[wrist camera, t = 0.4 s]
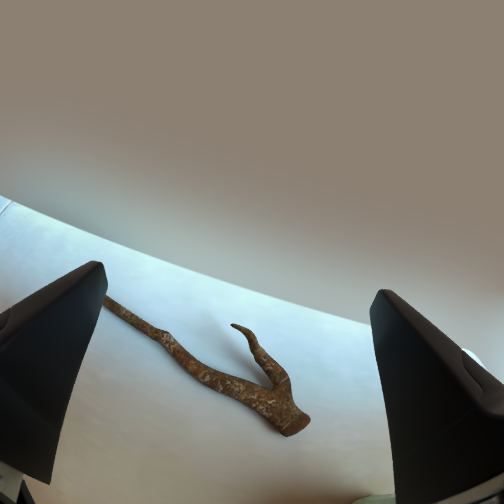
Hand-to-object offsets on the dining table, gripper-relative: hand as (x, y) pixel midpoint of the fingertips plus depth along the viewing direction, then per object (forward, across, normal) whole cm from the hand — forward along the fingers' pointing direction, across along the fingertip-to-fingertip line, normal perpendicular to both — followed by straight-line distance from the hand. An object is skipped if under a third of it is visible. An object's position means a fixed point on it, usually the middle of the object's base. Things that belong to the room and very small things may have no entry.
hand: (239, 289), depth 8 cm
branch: (+6, +5, +15) cm, 17 cm away
